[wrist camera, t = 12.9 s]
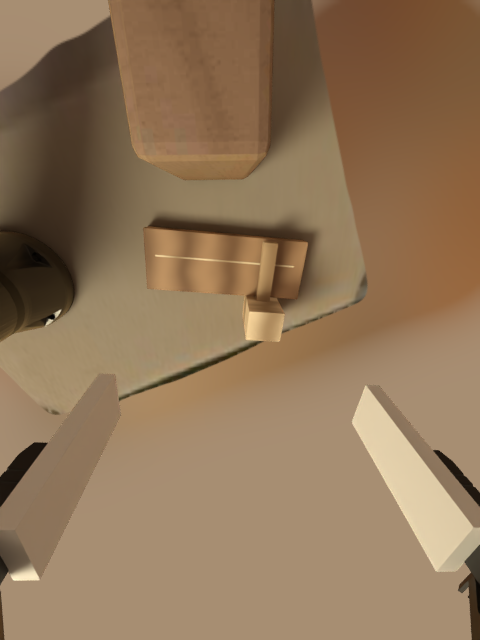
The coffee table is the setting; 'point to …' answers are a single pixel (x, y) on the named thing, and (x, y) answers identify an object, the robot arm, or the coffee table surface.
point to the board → (219, 262)
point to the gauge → (264, 301)
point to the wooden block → (197, 83)
